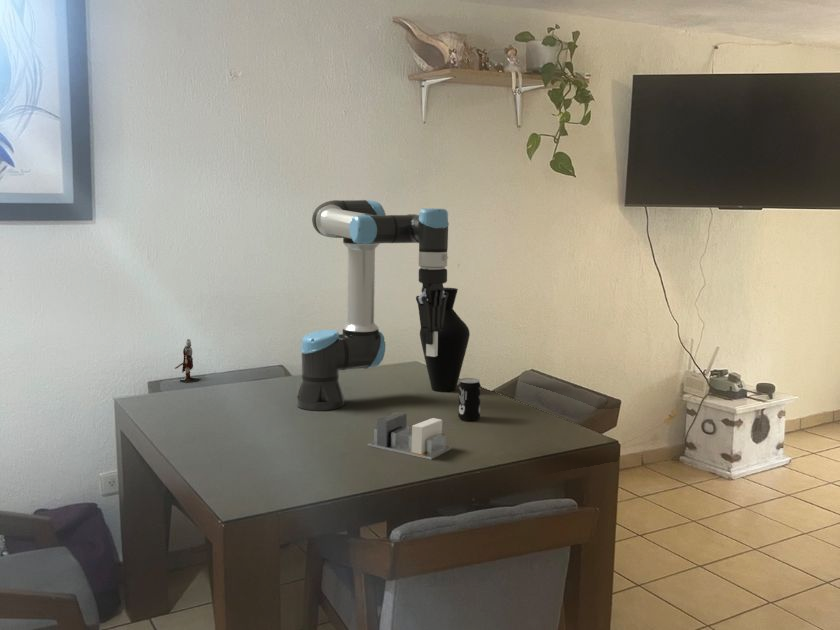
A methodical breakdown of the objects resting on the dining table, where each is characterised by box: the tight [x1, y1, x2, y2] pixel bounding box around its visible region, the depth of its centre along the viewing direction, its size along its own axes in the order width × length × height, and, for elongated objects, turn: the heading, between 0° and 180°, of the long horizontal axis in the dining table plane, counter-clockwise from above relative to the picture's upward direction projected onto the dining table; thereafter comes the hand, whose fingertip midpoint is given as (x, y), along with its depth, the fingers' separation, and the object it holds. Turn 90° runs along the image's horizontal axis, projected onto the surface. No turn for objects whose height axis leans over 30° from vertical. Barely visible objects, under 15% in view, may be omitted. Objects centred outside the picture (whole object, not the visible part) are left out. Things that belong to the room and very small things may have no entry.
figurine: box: [174, 339, 200, 384], centre depth 283 cm, size 7×7×15 cm
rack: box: [367, 411, 452, 460], centre depth 212 cm, size 20×10×8 cm, turn 58°
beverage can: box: [457, 377, 482, 422], centre depth 239 cm, size 7×7×12 cm
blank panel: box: [411, 417, 443, 454], centre depth 209 cm, size 3×10×7 cm, turn 147°
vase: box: [419, 287, 471, 393], centre depth 273 cm, size 17×17×35 cm
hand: (431, 355), depth 213 cm, fingers closed
